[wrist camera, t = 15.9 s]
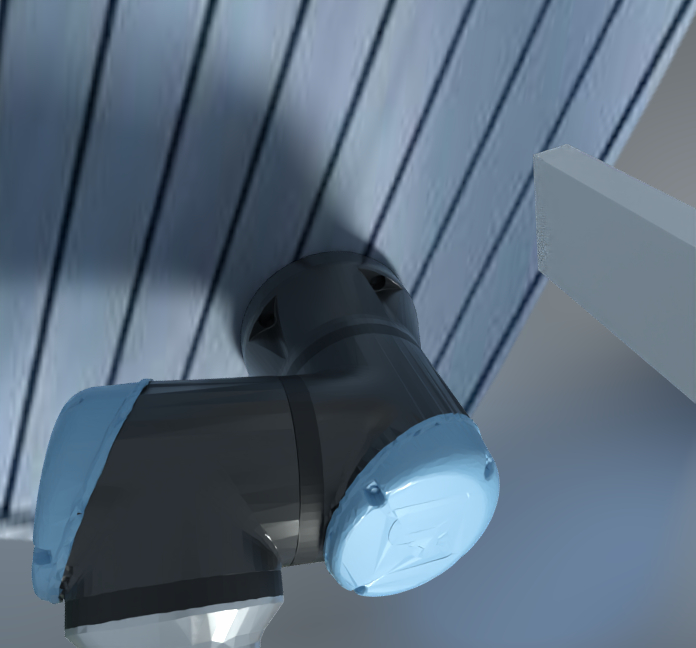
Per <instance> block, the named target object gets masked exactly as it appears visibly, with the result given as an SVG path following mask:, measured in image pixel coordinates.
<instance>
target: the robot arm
mask: <svg viewBox="0 0 696 648" xmlns="http://www.w3.org/2000/svg"><path fill="white" fill-rule="evenodd" d="M533 159H534V182H535V204H536V227H537V250H538V270H539V271H540V272H541V273H542V274H544V275H545V276H546V277H547V278H548V279H550V280H551V281H552V282H553V283H554V284H555V285H557V286H558V287H559V288H561V290H563V291H564V292H565V293H566V294H567V295H568V296H570V297H571V298H572V299H573V300H574V301H575V302H577V303H578V304H579V305H580V306H581V307H583V308H584V309H585V310H586V311H587V312H588V313H590V314H591V315H592V316H593V317H594V318H595V319H597V320H598V321H599V322H600V323H601V324H603V325H604V326H605V327H606V328H607V329H609V330H610V331H611V332H612V333H613V334H614V335H615V336H617V337H618V338H619V339H621V341H623V342H624V343H625V344H626V345H627V346H629V347H630V348H631V349H632V350H633V351H634V352H636V353H637V354H638V355H639V356H640V357H641V358H643V359H644V360H645V361H646V362H647V363H648V364H650V365H651V366H652V367H653V368H654V369H656V370H657V371H658V372H659V373H660V374H661V375H663V376H664V377H665V378H666V379H667V380H669V381H670V382H671V383H672V384H673V385H674V386H676V387H677V388H678V389H679V390H680V391H681V392H683V393H684V394H685V395H686V396H687V397H689V398H690V399H691V400H692V401H693V402H694V403H696V208H694V207H692V206H690V205H688V204H686V203H684V202H682V201H680V200H678V199H676V198H674V197H672V196H670V195H668V194H666V193H664V192H662V191H660V190H658V189H656V188H654V187H652V186H650V185H648V184H646V183H644V182H642V181H640V180H638V179H636V178H634V177H632V176H630V175H628V174H626V173H624V172H622V171H620V170H618V169H616V168H614V167H612V166H610V165H608V164H606V163H604V162H602V161H600V160H598V159H596V158H594V157H592V156H590V155H588V154H586V153H584V152H582V151H580V150H579V149H577V148H575V147H573V146H571V145H569V144H565V145H562V146H559V147H556V148H553V149H550V150H547V151H544V152H541V153H537V154H534V155H533ZM241 349H242V353H243V357H244V361H245V365H246V368H247V371H248V374H249V376H250V377H237V378H218V379H199V380H173V381H153V379H143V380H141V381H140V382H137V383H128V384H119V385H110V386H98V387H91V388H88V389H85V390H83V391H80V392H79V393H77V394H76V395H74V396H73V397H72V398H71V399H70V400H69V401H68V402H67V403H66V404H65V406H64V407H63V409H62V410H61V412H60V414H59V416H58V419H57V420H56V423H55V426H54V428H53V431H52V434H51V437H50V441H49V444H48V448H47V452H46V456H45V460H44V465H43V469H42V474H41V480H40V485H39V491H38V497H37V504H36V512H35V520H34V531H33V544H34V545H35V548H34V552H33V563H32V583H33V588H34V592H35V594H36V595H37V596H38V597H39V598H40V599H41V600H46V601H49V602H51V603H52V604H57V603H61V602H63V599H64V600H65V637H66V638H67V639H68V640H69V641H70V642H71V643H73V644H74V645H75V646H76V647H77V648H261V647H260V639H261V637H262V634H263V632H264V629H265V628H266V627H267V625H268V624H269V622H270V620H271V619H272V618H273V616H274V615H275V614H276V612H277V611H278V609H279V608H280V606H281V605H282V603H283V602H284V597H283V586H282V575H281V568H283V567H288V566H294V565H300V564H308V563H316V562H324V561H325V564H326V568H327V570H328V571H329V573H330V574H331V575H332V576H333V577H334V578H335V579H336V581H337V582H338V583H339V584H340V585H341V586H342V587H343V588H345V589H347V590H354V591H355V592H356V593H357V594H359V595H362V596H387V595H392V594H397V593H401V592H404V591H407V590H410V589H412V588H415V587H417V586H420V585H422V584H424V583H426V582H428V581H430V580H431V579H433V578H435V577H436V576H438V575H440V574H441V573H443V572H444V571H446V570H447V569H448V568H450V567H451V566H452V565H454V564H455V563H456V562H457V560H458V559H459V558H460V557H462V556H463V555H464V554H465V553H467V552H468V551H469V550H470V549H471V548H472V546H473V545H474V544H475V543H476V542H477V541H478V539H479V537H481V535H482V534H483V532H484V531H485V529H486V528H487V526H488V524H489V522H490V520H491V518H492V516H493V513H494V511H495V508H496V505H497V502H498V497H499V484H500V483H499V474H498V470H497V466H496V464H495V461H494V460H493V458H492V456H491V454H490V452H489V451H488V449H487V447H486V445H485V444H484V441H483V440H482V438H481V434H480V431H479V429H478V426H477V425H476V424H475V423H474V422H473V420H472V419H470V417H469V416H468V415H467V413H466V412H465V410H464V409H463V408H462V406H461V405H460V403H459V402H458V401H457V399H456V398H455V396H454V395H453V394H452V392H451V391H450V389H449V388H448V386H447V385H446V384H445V382H444V381H443V379H442V378H441V377H440V375H439V374H438V372H437V371H436V370H435V368H434V367H433V365H432V364H431V363H430V361H429V360H428V358H427V357H426V356H425V354H424V353H423V351H422V350H421V344H420V336H419V327H418V319H417V313H416V309H415V306H414V304H413V301H412V299H411V297H410V295H409V293H408V292H407V290H406V289H405V288H404V286H403V285H402V284H401V282H400V281H399V280H398V278H397V277H396V276H395V275H394V274H393V273H392V272H391V271H390V270H389V269H388V268H387V267H386V266H384V265H383V264H381V263H380V262H378V261H376V260H374V259H372V258H369V257H367V256H364V255H360V254H356V253H350V252H326V253H319V254H315V255H311V256H308V257H305V258H302V259H300V260H297V261H295V262H293V263H291V264H289V265H287V266H286V267H284V268H282V269H281V270H280V271H278V272H277V273H275V274H274V275H273V276H272V277H270V278H269V279H268V280H267V281H266V282H265V283H264V284H263V285H262V286H261V288H260V289H259V290H258V291H257V293H256V294H255V296H254V297H253V299H252V300H251V302H250V304H249V306H248V308H247V310H246V313H245V315H244V318H243V322H242V327H241Z"/></svg>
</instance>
